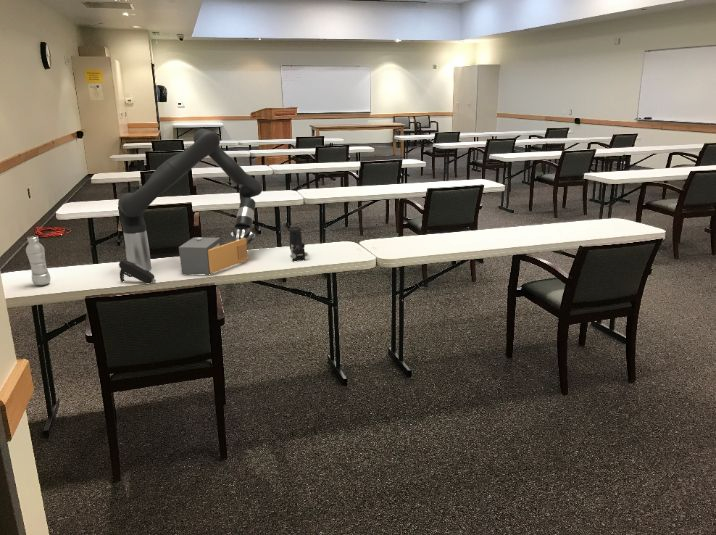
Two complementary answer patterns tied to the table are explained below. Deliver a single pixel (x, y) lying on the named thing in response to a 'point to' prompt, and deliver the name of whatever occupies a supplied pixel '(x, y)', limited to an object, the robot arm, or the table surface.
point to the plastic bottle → (37, 261)
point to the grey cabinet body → (197, 255)
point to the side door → (227, 255)
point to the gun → (135, 272)
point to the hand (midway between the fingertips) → (238, 252)
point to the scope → (296, 244)
